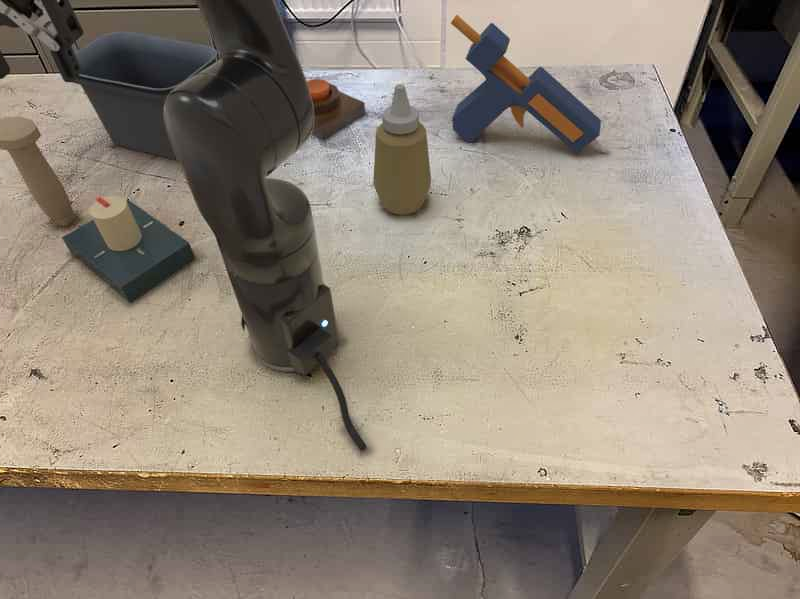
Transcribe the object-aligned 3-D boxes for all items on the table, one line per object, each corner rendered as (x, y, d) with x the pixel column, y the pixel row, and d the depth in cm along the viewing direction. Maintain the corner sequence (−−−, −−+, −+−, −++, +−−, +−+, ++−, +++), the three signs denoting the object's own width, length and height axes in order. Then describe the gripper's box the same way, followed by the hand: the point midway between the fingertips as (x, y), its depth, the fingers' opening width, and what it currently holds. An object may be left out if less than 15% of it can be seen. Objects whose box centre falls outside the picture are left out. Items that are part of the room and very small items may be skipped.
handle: (68, 237, 82) (12, 144, 71) (35, 224, 84) (-24, 132, 73) (94, 216, 85) (44, 124, 74) (62, 204, 87) (9, 112, 76)
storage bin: (89, 151, 96) (47, 66, 85) (150, 103, 105) (119, 21, 95) (199, 180, 90) (170, 93, 80) (253, 126, 100) (233, 42, 89)
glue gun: (546, 204, 100) (618, 150, 90) (398, 96, 90) (460, 20, 79) (547, 180, 104) (617, 125, 93) (405, 74, 93) (465, -1, 83)
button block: (365, 114, 101) (363, 92, 98) (323, 140, 96) (320, 118, 93) (316, 91, 107) (313, 70, 104) (274, 115, 102) (269, 94, 99)
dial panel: (195, 259, 79) (188, 241, 77) (130, 303, 74) (120, 286, 72) (135, 215, 85) (127, 198, 83) (71, 253, 80) (60, 236, 78)
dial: (148, 237, 77) (132, 203, 73) (119, 256, 75) (100, 221, 71) (129, 223, 79) (113, 188, 75) (100, 241, 77) (81, 206, 73)
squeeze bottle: (365, 195, 87) (355, 80, 73) (414, 179, 89) (413, 64, 76) (390, 228, 82) (384, 111, 69) (441, 209, 84) (445, 92, 71)
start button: (335, 94, 99) (334, 84, 98) (316, 105, 97) (315, 95, 95) (317, 85, 101) (315, 76, 100) (298, 96, 99) (296, 86, 97)
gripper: (-144, -75, 54) (-40, 91, 66) (1, -72, 52) (80, 97, 64) (-88, -100, 59) (-1, 59, 71) (46, -98, 57) (112, 63, 69)
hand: (38, 77), depth 68 cm, fingers open, 8 cm apart
